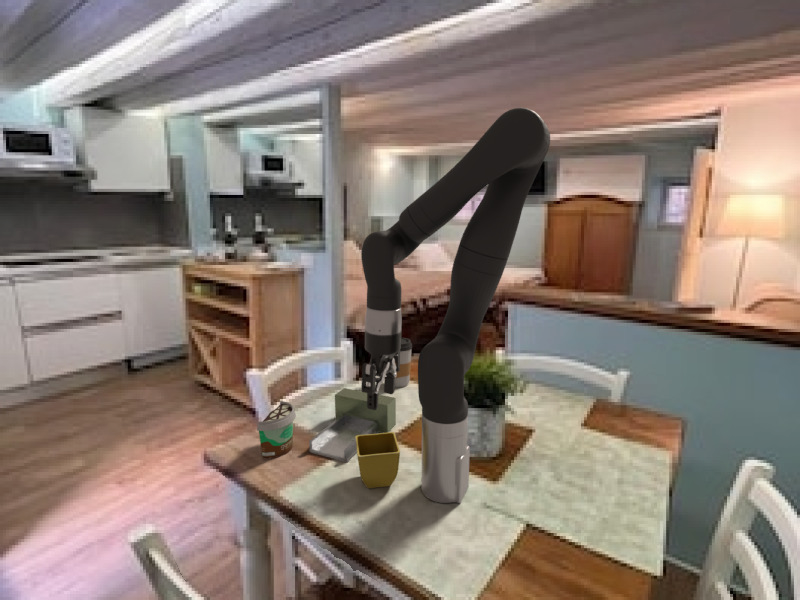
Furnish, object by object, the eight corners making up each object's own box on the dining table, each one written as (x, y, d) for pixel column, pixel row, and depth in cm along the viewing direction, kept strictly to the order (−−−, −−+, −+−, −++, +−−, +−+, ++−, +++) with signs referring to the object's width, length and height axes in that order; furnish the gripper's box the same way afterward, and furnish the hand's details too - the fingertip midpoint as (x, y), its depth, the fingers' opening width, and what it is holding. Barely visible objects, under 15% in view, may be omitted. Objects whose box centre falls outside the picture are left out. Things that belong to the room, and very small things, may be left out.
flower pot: (358, 495, 91) (357, 456, 90) (356, 471, 100) (354, 434, 98) (400, 491, 93) (400, 452, 91) (394, 467, 101) (394, 431, 99)
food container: (283, 464, 103) (281, 424, 101) (259, 461, 104) (256, 422, 102) (305, 438, 114) (303, 401, 112) (283, 435, 116) (281, 399, 114)
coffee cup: (417, 383, 149) (417, 340, 146) (400, 390, 143) (400, 346, 140) (399, 377, 155) (399, 335, 152) (382, 384, 149) (381, 341, 146)
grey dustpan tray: (395, 425, 121) (395, 397, 119) (357, 465, 102) (356, 433, 101) (345, 414, 127) (344, 388, 126) (300, 449, 109) (298, 419, 107)
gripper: (385, 340, 84) (383, 418, 88) (412, 322, 97) (409, 391, 100) (350, 334, 87) (349, 410, 90) (381, 317, 100) (379, 385, 103)
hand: (381, 400), depth 95 cm, fingers open, 8 cm apart
